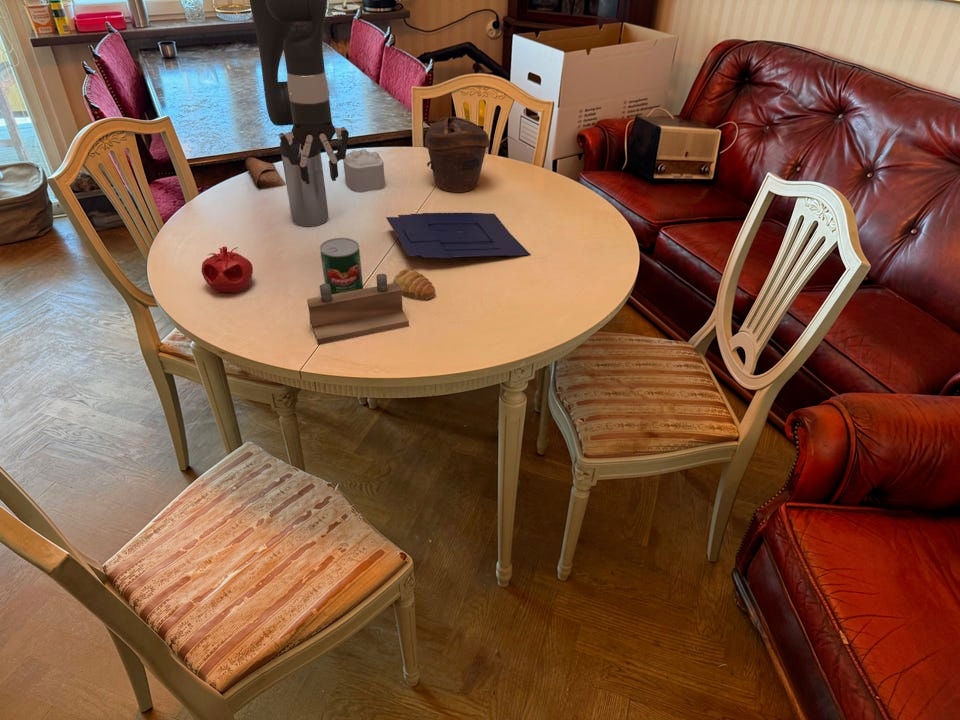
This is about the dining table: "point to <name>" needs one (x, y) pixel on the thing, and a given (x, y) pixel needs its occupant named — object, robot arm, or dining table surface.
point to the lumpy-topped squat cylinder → (364, 171)
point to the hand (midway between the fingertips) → (320, 180)
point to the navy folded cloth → (455, 235)
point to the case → (456, 153)
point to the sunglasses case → (263, 174)
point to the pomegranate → (227, 271)
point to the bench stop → (356, 311)
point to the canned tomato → (341, 265)
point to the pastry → (414, 285)
